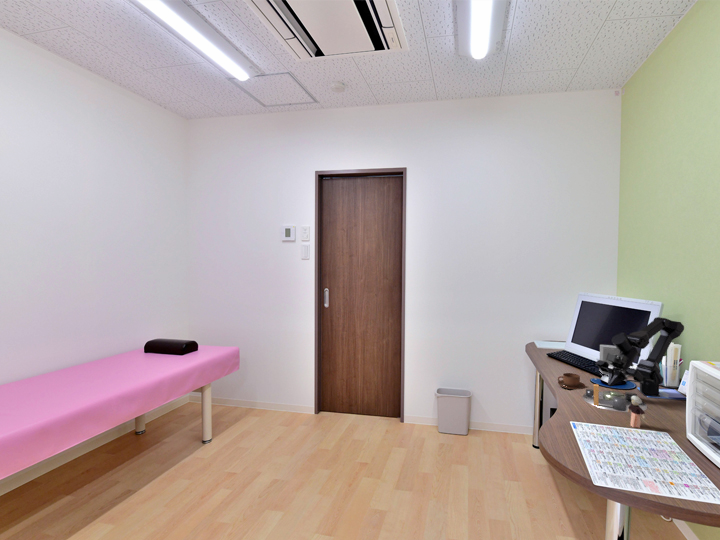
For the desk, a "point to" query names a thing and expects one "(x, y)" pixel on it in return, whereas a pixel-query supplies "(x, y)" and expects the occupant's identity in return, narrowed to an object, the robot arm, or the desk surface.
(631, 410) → the grandmother figurine
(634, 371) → the robot arm
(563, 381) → the cup and saucer
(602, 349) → the skincare box
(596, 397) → the grey and tan piece
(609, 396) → the levelling plate
